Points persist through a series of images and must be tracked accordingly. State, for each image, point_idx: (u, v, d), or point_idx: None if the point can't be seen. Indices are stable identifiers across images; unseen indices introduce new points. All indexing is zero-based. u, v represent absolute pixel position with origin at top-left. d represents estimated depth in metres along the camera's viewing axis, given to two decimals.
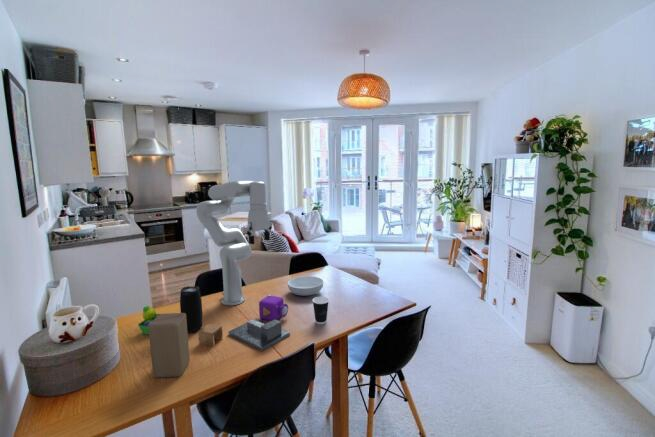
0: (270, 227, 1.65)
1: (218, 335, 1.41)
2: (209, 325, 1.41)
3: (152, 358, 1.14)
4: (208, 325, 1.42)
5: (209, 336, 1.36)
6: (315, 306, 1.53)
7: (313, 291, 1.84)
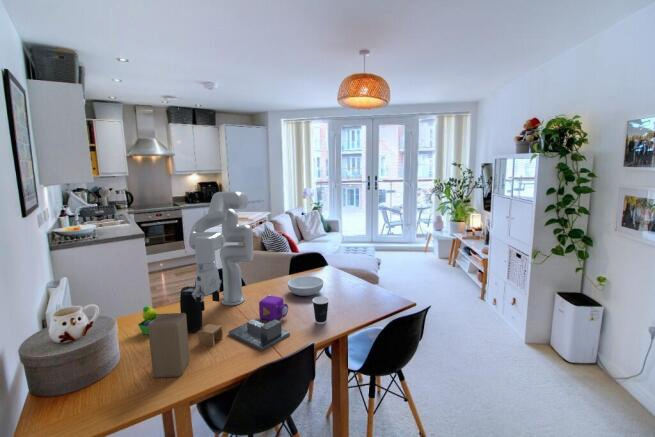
0: None
1: (218, 335, 1.41)
2: (209, 325, 1.41)
3: (152, 358, 1.14)
4: (208, 325, 1.42)
5: (209, 336, 1.36)
6: (315, 306, 1.53)
7: (313, 291, 1.84)
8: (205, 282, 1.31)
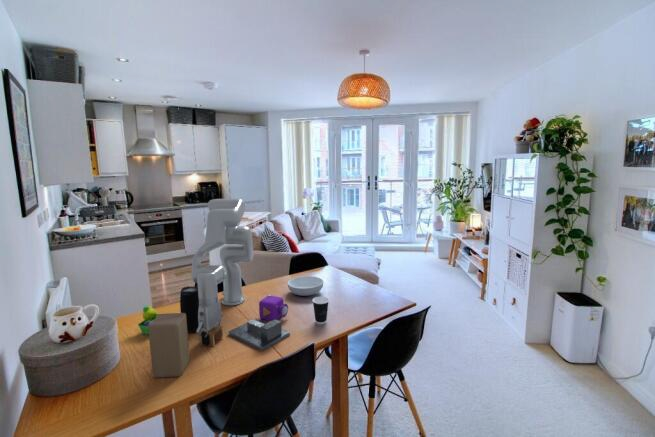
0: None
1: (218, 335, 1.41)
2: None
3: (152, 358, 1.14)
4: None
5: (209, 336, 1.36)
6: (315, 306, 1.53)
7: (313, 291, 1.84)
8: (207, 317, 1.33)
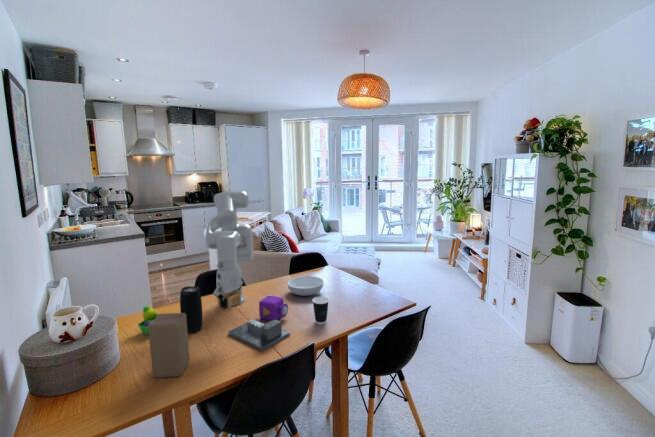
0: None
1: (237, 300, 1.41)
2: None
3: (152, 358, 1.14)
4: None
5: (227, 299, 1.35)
6: (315, 306, 1.53)
7: (313, 291, 1.84)
8: (224, 280, 1.33)
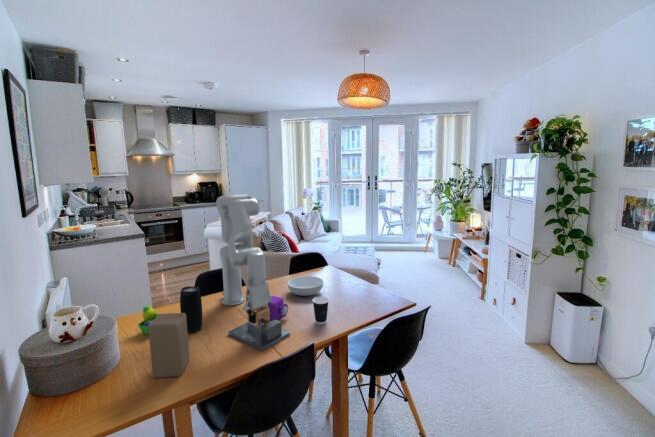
0: None
1: (265, 316, 1.44)
2: None
3: (152, 358, 1.14)
4: None
5: (255, 314, 1.40)
6: (315, 306, 1.53)
7: (313, 291, 1.84)
8: (253, 296, 1.37)
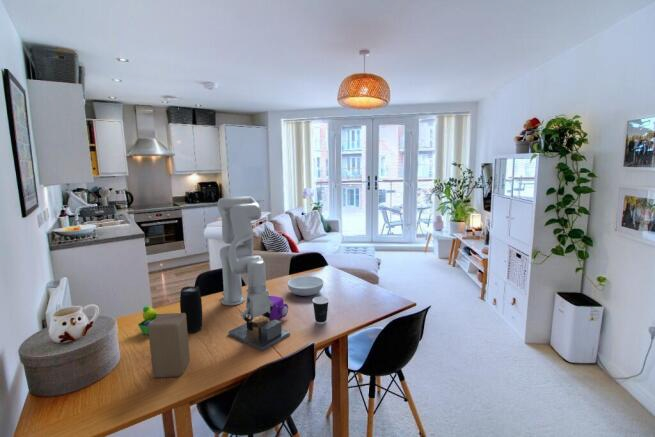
0: None
1: None
2: (259, 316, 1.47)
3: (152, 358, 1.14)
4: None
5: (255, 326, 1.41)
6: (315, 306, 1.53)
7: (313, 291, 1.84)
8: (253, 305, 1.38)
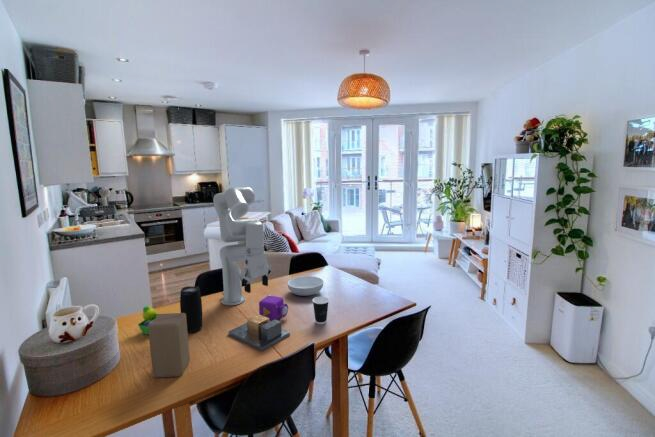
0: None
1: None
2: (259, 316, 1.47)
3: (152, 358, 1.14)
4: (258, 315, 1.47)
5: (255, 326, 1.41)
6: (315, 306, 1.53)
7: (313, 291, 1.84)
8: (251, 266, 1.37)
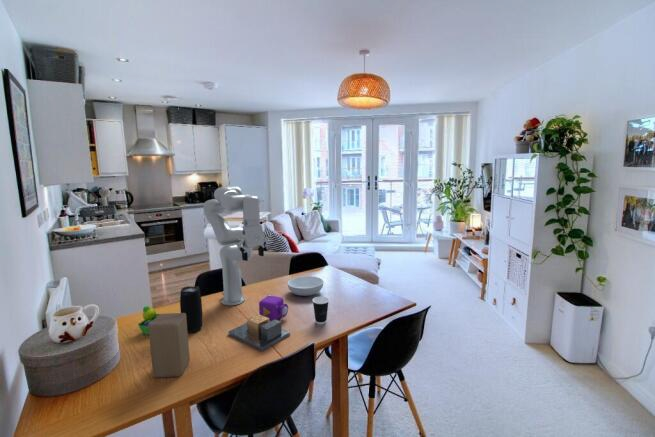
0: None
1: None
2: (259, 316, 1.47)
3: (152, 358, 1.14)
4: (258, 315, 1.47)
5: (255, 326, 1.41)
6: (315, 306, 1.53)
7: (313, 291, 1.84)
8: (248, 236, 1.50)
